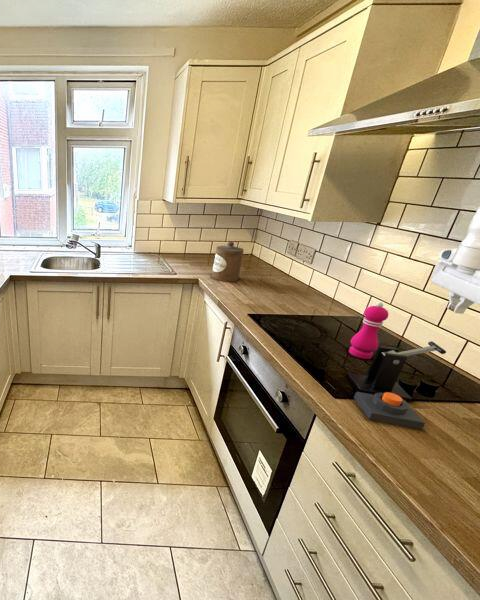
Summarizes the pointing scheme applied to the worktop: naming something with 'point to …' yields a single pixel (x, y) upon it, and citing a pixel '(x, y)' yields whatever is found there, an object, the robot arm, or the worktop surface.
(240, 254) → the wooden container
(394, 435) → the worktop surface
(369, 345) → the pepper mill
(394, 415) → the button block
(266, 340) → the worktop surface
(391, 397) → the button
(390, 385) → the bracket
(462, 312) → the robot arm
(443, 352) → the lever
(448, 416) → the worktop surface
